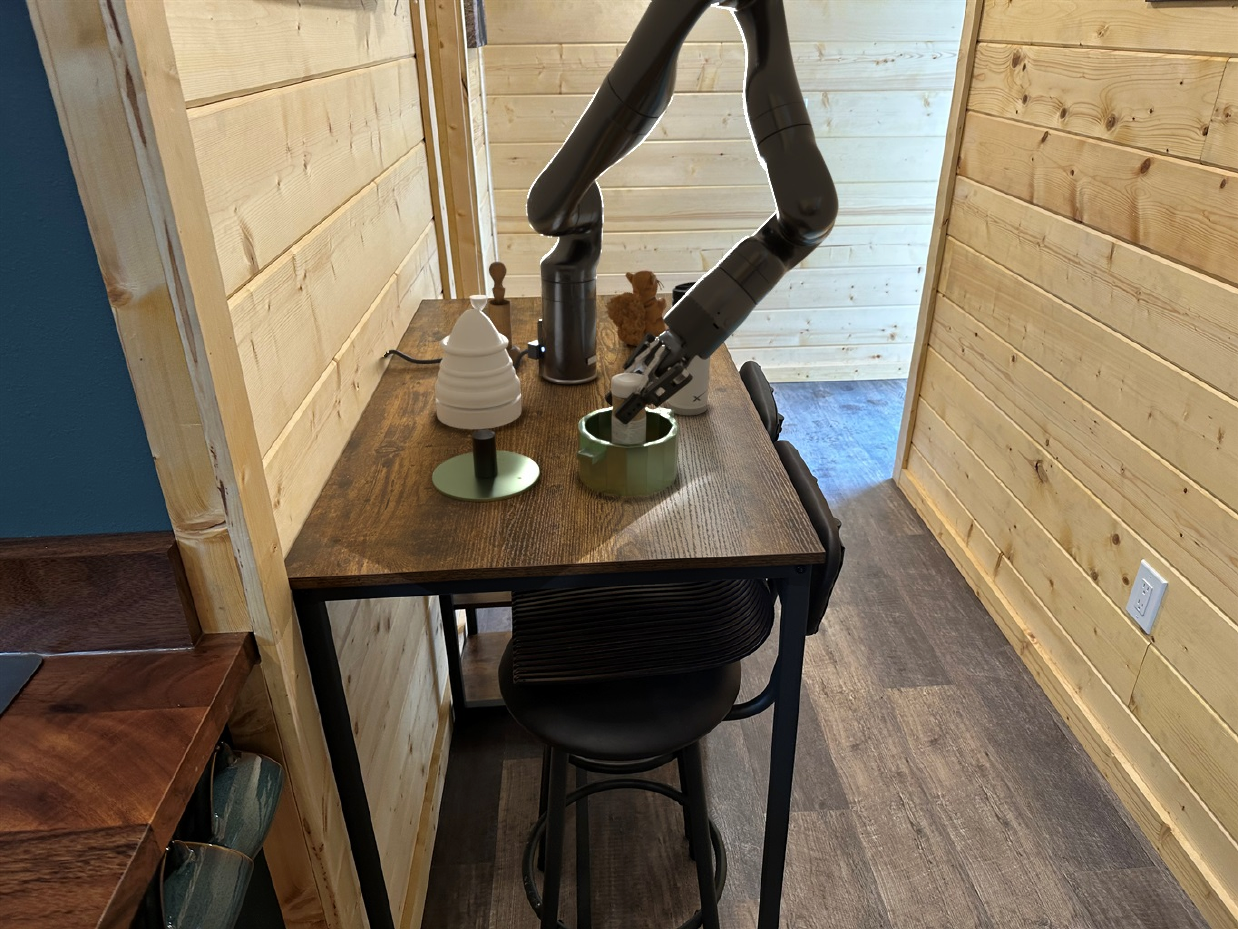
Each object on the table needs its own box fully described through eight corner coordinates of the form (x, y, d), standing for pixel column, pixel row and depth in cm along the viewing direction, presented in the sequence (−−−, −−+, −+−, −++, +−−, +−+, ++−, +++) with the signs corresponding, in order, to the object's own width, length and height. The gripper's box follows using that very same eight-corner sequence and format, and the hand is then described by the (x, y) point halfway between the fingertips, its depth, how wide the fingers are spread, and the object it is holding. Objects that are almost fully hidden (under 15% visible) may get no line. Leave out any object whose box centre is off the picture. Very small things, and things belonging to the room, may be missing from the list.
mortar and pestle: (504, 371, 145) (499, 268, 137) (476, 364, 148) (469, 263, 140) (528, 360, 150) (524, 261, 142) (500, 354, 153) (494, 256, 145)
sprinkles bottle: (635, 463, 112) (637, 369, 106) (651, 477, 108) (654, 380, 102) (604, 469, 110) (605, 374, 104) (619, 484, 106) (620, 386, 100)
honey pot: (463, 395, 134) (455, 285, 126) (535, 406, 131) (531, 293, 123) (420, 425, 123) (408, 306, 115) (498, 437, 120) (491, 316, 112)
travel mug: (707, 417, 127) (715, 289, 118) (664, 414, 128) (669, 286, 119) (711, 402, 133) (719, 278, 124) (670, 399, 134) (675, 276, 125)
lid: (410, 485, 106) (404, 438, 103) (485, 448, 116) (482, 405, 113) (487, 517, 99) (484, 468, 96) (561, 476, 109) (560, 430, 106)
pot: (545, 488, 106) (543, 436, 103) (627, 441, 119) (628, 393, 116) (626, 519, 99) (627, 463, 96) (704, 465, 112) (707, 415, 109)
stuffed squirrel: (680, 335, 164) (683, 269, 158) (640, 354, 154) (641, 284, 148) (638, 326, 169) (640, 262, 163) (597, 344, 159) (597, 275, 153)
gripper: (672, 278, 106) (581, 374, 109) (710, 308, 94) (606, 416, 97) (709, 316, 110) (620, 408, 113) (750, 350, 97) (649, 452, 100)
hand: (614, 411), depth 105 cm, fingers closed on sprinkles bottle, 4 cm apart
